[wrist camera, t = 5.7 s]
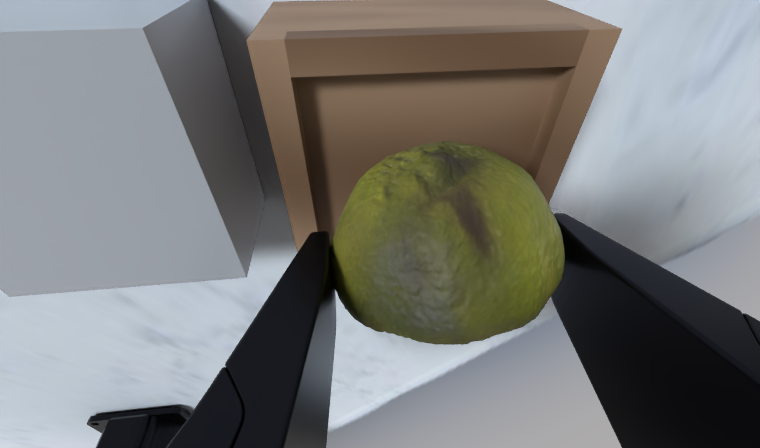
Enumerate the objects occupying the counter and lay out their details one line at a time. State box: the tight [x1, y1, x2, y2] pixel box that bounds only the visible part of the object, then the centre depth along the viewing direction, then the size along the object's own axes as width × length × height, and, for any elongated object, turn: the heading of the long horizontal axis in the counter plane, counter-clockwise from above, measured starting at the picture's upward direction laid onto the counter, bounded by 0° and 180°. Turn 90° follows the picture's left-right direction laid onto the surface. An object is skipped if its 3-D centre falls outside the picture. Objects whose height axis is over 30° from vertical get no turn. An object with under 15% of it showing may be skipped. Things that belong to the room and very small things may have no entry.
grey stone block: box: [0, 0, 265, 297], centre depth 10 cm, size 7×7×4 cm
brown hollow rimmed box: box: [246, 0, 622, 252], centre depth 11 cm, size 8×8×4 cm
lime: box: [331, 141, 565, 344], centre depth 8 cm, size 4×5×5 cm
